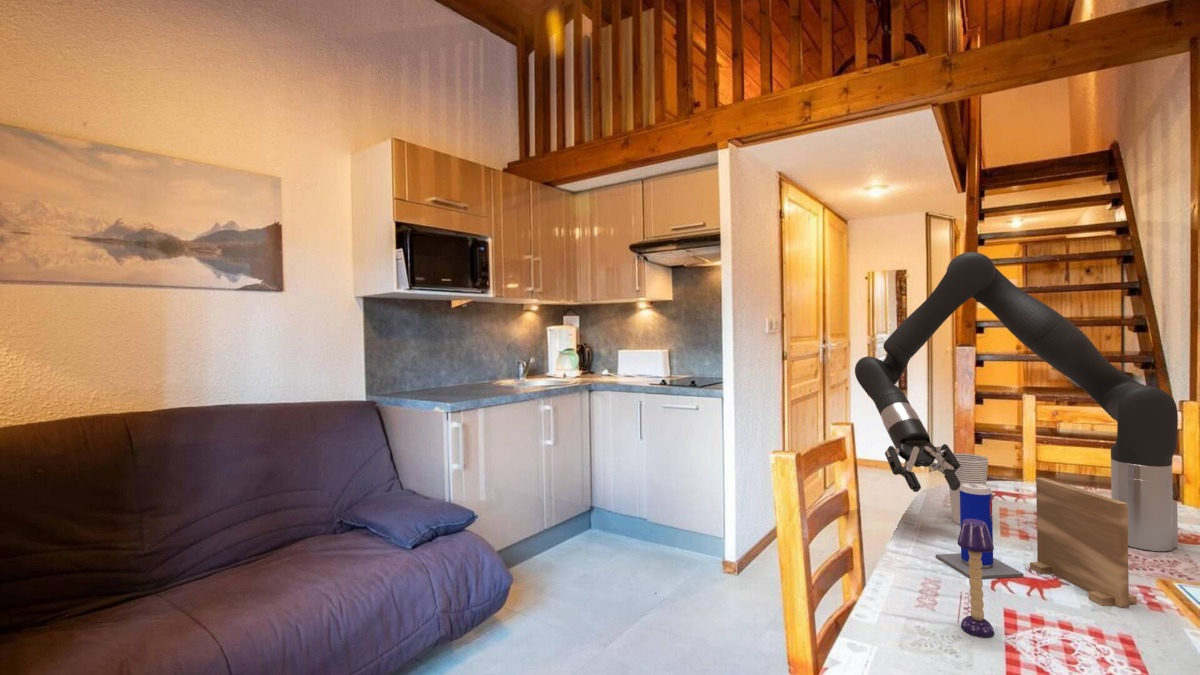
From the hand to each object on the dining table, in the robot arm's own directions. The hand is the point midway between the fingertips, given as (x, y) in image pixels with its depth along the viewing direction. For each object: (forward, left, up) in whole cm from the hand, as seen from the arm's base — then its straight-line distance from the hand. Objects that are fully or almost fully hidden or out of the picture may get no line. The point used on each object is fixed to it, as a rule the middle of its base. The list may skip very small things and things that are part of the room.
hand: (937, 489), depth 119 cm
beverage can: (0, +11, -11) cm, 16 cm away
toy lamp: (+16, +32, -12) cm, 38 cm away
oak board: (-12, +20, -12) cm, 26 cm away
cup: (-15, -12, -12) cm, 22 cm away
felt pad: (0, +11, -12) cm, 16 cm away
